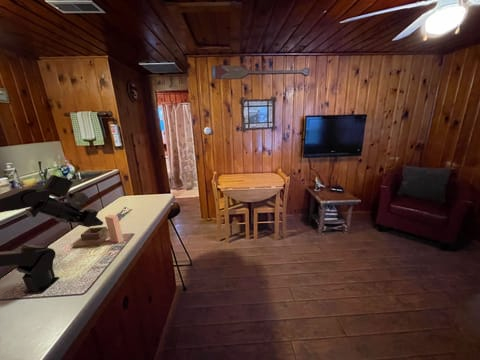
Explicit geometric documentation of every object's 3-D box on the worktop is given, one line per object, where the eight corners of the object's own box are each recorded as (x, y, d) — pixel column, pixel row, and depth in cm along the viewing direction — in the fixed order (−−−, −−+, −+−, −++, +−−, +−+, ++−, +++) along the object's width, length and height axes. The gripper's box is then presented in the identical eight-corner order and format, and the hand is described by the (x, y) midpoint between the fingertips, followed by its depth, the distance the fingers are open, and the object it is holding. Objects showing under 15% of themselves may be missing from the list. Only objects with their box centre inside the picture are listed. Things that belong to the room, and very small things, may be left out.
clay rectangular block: (118, 243, 91) (112, 218, 88) (111, 241, 93) (104, 216, 90) (123, 240, 93) (117, 215, 90) (115, 238, 95) (109, 214, 92)
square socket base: (98, 246, 89) (96, 237, 88) (73, 248, 89) (70, 239, 88) (115, 230, 103) (113, 222, 102) (93, 231, 102) (91, 224, 101)
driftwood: (118, 223, 111) (117, 220, 111) (106, 224, 111) (105, 220, 110) (135, 208, 131) (134, 205, 130) (124, 209, 131) (124, 206, 130)
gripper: (85, 190, 71) (120, 206, 83) (54, 186, 77) (90, 202, 90) (67, 220, 66) (106, 233, 79) (35, 213, 72) (76, 226, 85)
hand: (95, 222), depth 83 cm, fingers open, 9 cm apart
